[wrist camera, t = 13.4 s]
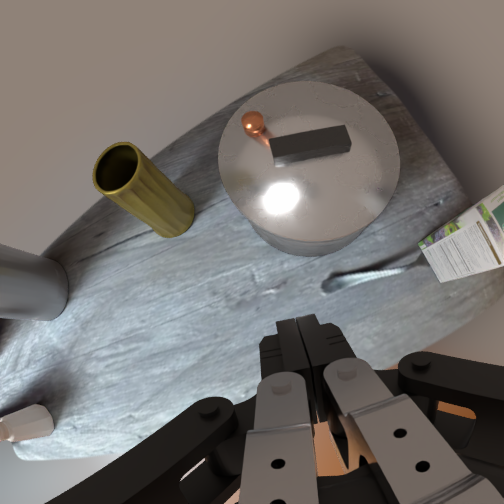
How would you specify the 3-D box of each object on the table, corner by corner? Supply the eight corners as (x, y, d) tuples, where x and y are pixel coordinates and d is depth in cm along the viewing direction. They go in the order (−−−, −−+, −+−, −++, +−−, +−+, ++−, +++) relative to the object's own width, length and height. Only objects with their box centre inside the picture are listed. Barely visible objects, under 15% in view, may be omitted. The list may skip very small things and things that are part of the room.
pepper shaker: (45, 399, 38) (-6, 410, 27) (60, 432, 36) (10, 449, 26) (27, 407, 38) (-21, 417, 27) (41, 438, 36) (-6, 453, 26)
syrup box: (448, 221, 35) (509, 175, 21) (471, 261, 33) (541, 232, 19) (416, 243, 35) (473, 203, 21) (440, 286, 33) (508, 266, 19)
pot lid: (237, 261, 28) (230, 255, 25) (210, 107, 32) (203, 91, 29) (420, 222, 26) (431, 212, 24) (362, 79, 30) (365, 62, 28)
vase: (172, 183, 41) (120, 127, 27) (205, 210, 39) (158, 156, 26) (142, 219, 40) (77, 176, 27) (172, 248, 39) (111, 212, 25)
